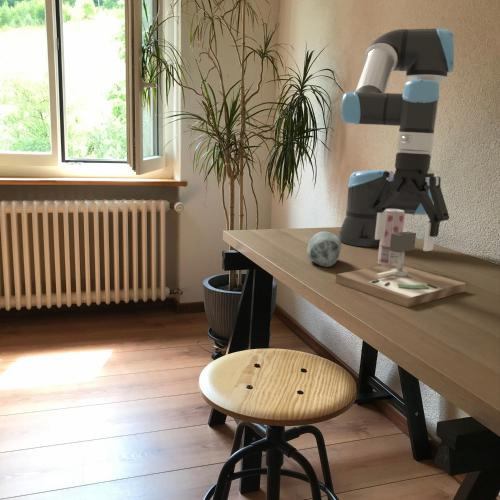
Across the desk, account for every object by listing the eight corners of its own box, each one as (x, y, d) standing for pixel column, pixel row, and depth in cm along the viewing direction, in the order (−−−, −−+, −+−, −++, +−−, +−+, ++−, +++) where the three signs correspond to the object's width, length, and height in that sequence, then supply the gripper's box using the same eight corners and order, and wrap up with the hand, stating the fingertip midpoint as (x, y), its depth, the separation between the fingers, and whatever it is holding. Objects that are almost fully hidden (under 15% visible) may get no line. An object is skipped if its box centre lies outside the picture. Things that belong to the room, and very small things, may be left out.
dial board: (393, 270, 136) (394, 261, 135) (464, 291, 121) (466, 281, 120) (335, 282, 123) (336, 272, 122) (407, 307, 107) (408, 296, 107)
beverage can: (395, 262, 145) (402, 208, 142) (401, 267, 139) (407, 212, 136) (375, 261, 145) (381, 207, 142) (379, 266, 139) (386, 211, 136)
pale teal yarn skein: (347, 259, 132) (332, 222, 133) (312, 273, 134) (298, 237, 135) (349, 259, 145) (335, 226, 146) (317, 272, 147) (304, 239, 148)
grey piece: (400, 270, 127) (405, 230, 125) (414, 274, 124) (419, 233, 122) (370, 276, 121) (375, 234, 118) (384, 281, 118) (389, 238, 115)
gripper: (359, 148, 125) (351, 235, 129) (455, 155, 106) (441, 257, 110) (379, 149, 129) (370, 233, 134) (474, 156, 110) (460, 254, 115)
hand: (402, 244), depth 122 cm, fingers open, 13 cm apart
